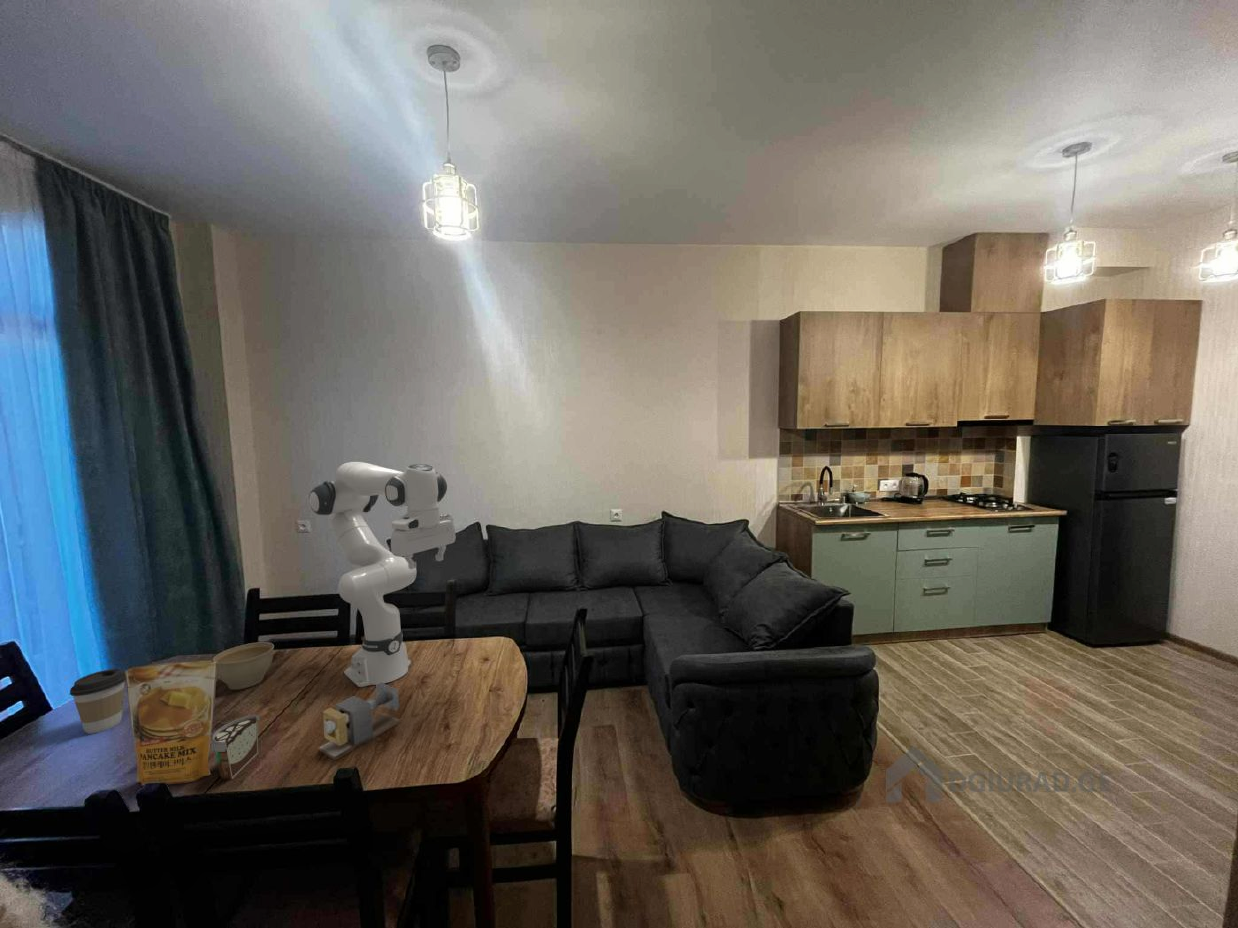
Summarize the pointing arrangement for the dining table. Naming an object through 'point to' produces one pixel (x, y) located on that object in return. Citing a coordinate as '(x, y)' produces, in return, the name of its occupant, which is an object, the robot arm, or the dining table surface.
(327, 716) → the spacer
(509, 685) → the dining table surface
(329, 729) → the shaft
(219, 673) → the planter bowl
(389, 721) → the rig base
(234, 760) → the food container
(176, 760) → the pancake mix bag
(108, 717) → the coffee cup
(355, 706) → the block
